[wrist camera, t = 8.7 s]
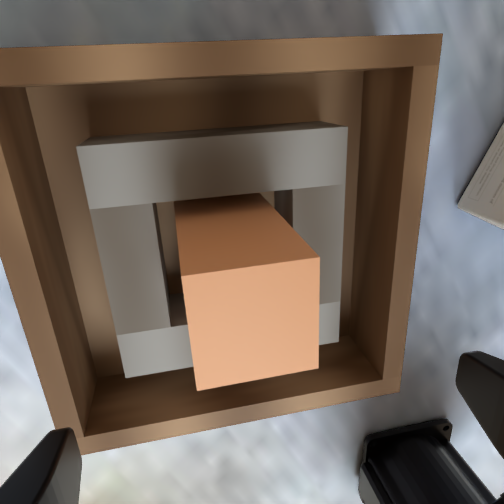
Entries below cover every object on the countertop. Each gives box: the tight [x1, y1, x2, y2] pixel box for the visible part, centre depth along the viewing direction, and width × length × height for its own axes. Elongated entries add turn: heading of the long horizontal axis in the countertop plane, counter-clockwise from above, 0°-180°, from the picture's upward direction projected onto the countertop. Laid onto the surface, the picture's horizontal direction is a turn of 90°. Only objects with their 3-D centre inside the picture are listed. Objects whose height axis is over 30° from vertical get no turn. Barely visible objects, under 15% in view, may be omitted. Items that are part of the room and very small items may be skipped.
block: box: [174, 193, 320, 391], centre depth 16 cm, size 4×4×8 cm
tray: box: [0, 34, 443, 455], centre depth 18 cm, size 16×16×4 cm
